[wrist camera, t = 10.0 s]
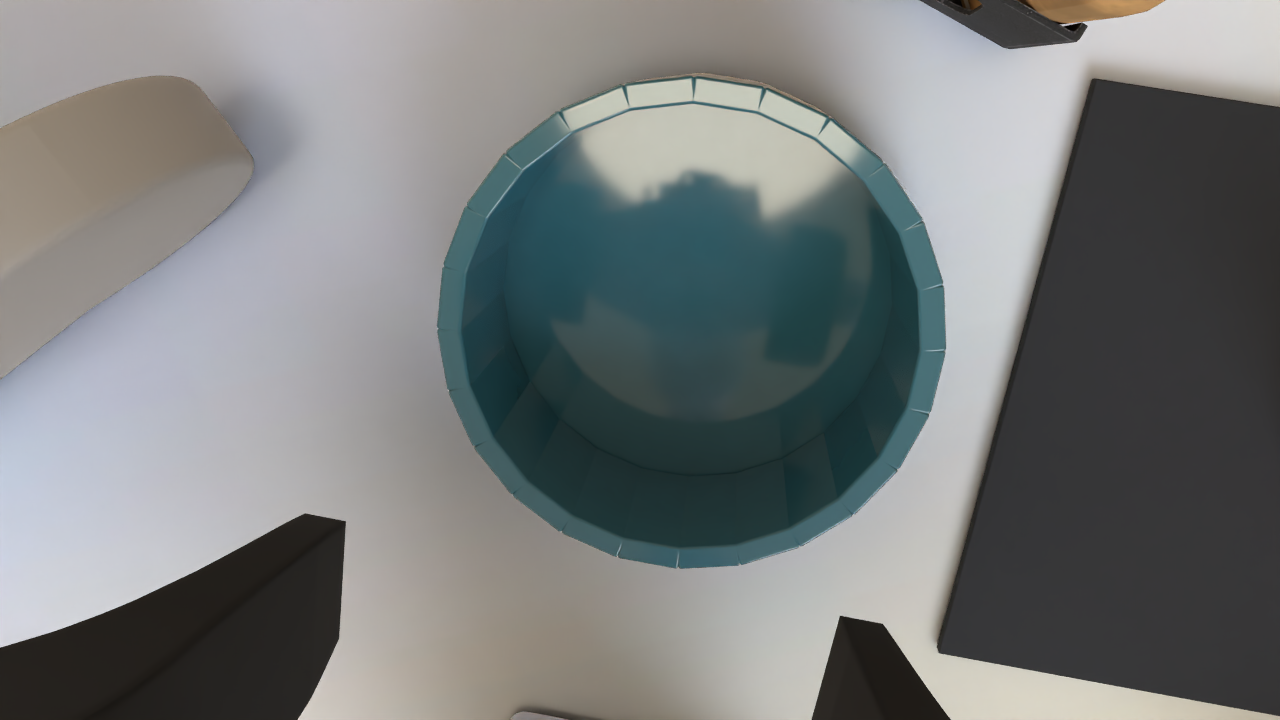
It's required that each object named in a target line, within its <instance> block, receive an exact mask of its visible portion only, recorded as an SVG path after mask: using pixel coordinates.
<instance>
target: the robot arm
mask: <svg viewBox="0 0 1280 720" xmlns="http://www.w3.org/2000/svg"><path fill="white" fill-rule="evenodd" d="M345 527H346V521H341V520H336V519H331V518H326V517H320V516H315V515H310V514H303V515H301V516H299V517H297V518H295V519H293V520H291V521H289V522H287V523H285V524H283V525H281V526H279V527H278V528H276V529H274V530H272V531H270V532H268V533H267V534H265V535H263V536H261V537H259V538H257V539H256V540H254V541H252V542H250V543H248V544H247V545H245V546H243V547H241V548H239V549H237V550H235V551H233V552H232V553H230V554H228V555H226V556H224V557H222V558H220V559H218V560H217V561H215V562H213V563H211V564H209V565H207V566H205V567H203V568H201V569H200V570H198V571H196V572H194V573H191V574H189V575H187V576H185V577H183V578H181V579H179V580H177V581H175V582H172V583H170V584H168V585H166V586H164V587H162V588H160V589H158V590H156V591H153V592H151V593H149V594H147V595H145V596H143V597H141V598H139V599H137V600H134V601H132V602H130V603H127V604H125V605H123V606H120V607H118V608H115V609H113V610H110V611H108V612H106V613H103V614H101V615H98V616H95V617H93V618H90V619H87V620H84V621H82V622H79V623H76V624H74V625H71V626H68V627H66V628H63V629H60V630H57V631H54V632H51V633H48V634H45V635H41V636H38V637H35V638H31V639H28V640H25V641H21V642H18V643H15V644H11V645H8V646H5V647H1V648H0V720H298V718H299V716H300V715H301V713H302V712H303V710H304V708H305V707H306V705H307V704H308V702H309V700H310V699H311V697H312V695H313V693H314V691H315V689H316V687H317V685H318V683H319V681H320V679H321V677H322V674H323V672H324V670H325V668H326V666H327V664H328V662H329V659H330V657H331V655H332V653H333V651H334V648H335V646H336V644H337V642H338V640H339V631H340V613H341V596H342V579H343V561H344V544H345ZM510 720H569V719H563V718H558V717H553V716H548V715H543V714H537V713H532V712H519V713H517V714H515V715H514V716H513V717H511V719H510ZM812 720H951V719H950V718H949V717H948V716H947V714H946V713H945V712H944V710H943V709H942V708H941V706H940V705H939V703H938V702H937V701H936V699H935V698H934V697H933V695H932V694H931V693H930V691H929V690H928V688H927V687H926V686H925V684H924V683H923V681H922V680H921V678H920V677H919V676H918V674H917V673H916V671H915V670H914V668H913V667H912V665H911V664H910V663H909V661H908V660H907V658H906V657H905V655H904V654H903V652H902V651H901V649H900V648H899V646H898V645H897V644H896V642H895V641H894V639H893V638H892V636H891V635H890V633H889V632H888V630H887V629H886V628H885V626H884V625H883V624H880V623H875V622H870V621H864V620H859V619H854V618H849V617H843V616H840V618H839V622H838V625H837V629H836V633H835V636H834V640H833V644H832V647H831V651H830V655H829V658H828V662H827V666H826V669H825V673H824V677H823V680H822V684H821V688H820V691H819V695H818V699H817V702H816V706H815V709H814V713H813V717H812Z"/></svg>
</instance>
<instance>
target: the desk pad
mask: <svg viewBox="0 0 1280 720" xmlns="http://www.w3.org/2000/svg"><path fill="white" fill-rule="evenodd" d="M937 648H938V652H939V653H941V654H947V655H952V656H957V657H963V658H968V659H974V660H979V661H984V662H990V663H995V664H1001V665H1006V666H1011V667H1017V668H1022V669H1028V670H1033V671H1039V672H1044V673H1049V674H1055V675H1060V676H1066V677H1071V678H1076V679H1082V680H1087V681H1093V682H1098V683H1103V684H1109V685H1114V686H1120V687H1125V688H1130V689H1136V690H1141V691H1147V692H1152V693H1158V694H1163V695H1168V696H1174V697H1179V698H1185V699H1190V700H1195V701H1201V702H1206V703H1212V704H1217V705H1222V706H1228V707H1233V708H1239V709H1244V710H1250V711H1255V712H1260V713H1266V714H1271V715H1277V716H1280V107H1274V106H1268V105H1262V104H1255V103H1249V102H1242V101H1236V100H1229V99H1223V98H1216V97H1210V96H1204V95H1197V94H1191V93H1184V92H1178V91H1171V90H1165V89H1158V88H1152V87H1146V86H1139V85H1133V84H1126V83H1120V82H1113V81H1107V80H1100V79H1092V82H1091V85H1090V89H1089V93H1088V96H1087V100H1086V104H1085V107H1084V111H1083V115H1082V118H1081V122H1080V125H1079V129H1078V133H1077V136H1076V140H1075V144H1074V147H1073V151H1072V155H1071V158H1070V162H1069V166H1068V169H1067V173H1066V177H1065V180H1064V184H1063V188H1062V191H1061V195H1060V199H1059V202H1058V206H1057V210H1056V213H1055V217H1054V221H1053V224H1052V228H1051V232H1050V235H1049V239H1048V242H1047V246H1046V250H1045V253H1044V257H1043V261H1042V264H1041V268H1040V272H1039V275H1038V279H1037V283H1036V286H1035V290H1034V294H1033V297H1032V301H1031V305H1030V308H1029V312H1028V316H1027V319H1026V323H1025V327H1024V330H1023V334H1022V338H1021V341H1020V345H1019V349H1018V352H1017V356H1016V359H1015V363H1014V367H1013V370H1012V374H1011V378H1010V381H1009V385H1008V389H1007V392H1006V396H1005V400H1004V403H1003V407H1002V411H1001V414H1000V418H999V422H998V425H997V429H996V433H995V436H994V440H993V444H992V447H991V451H990V455H989V458H988V462H987V466H986V469H985V473H984V476H983V480H982V484H981V487H980V491H979V495H978V498H977V502H976V506H975V509H974V513H973V517H972V520H971V524H970V528H969V531H968V535H967V539H966V542H965V546H964V550H963V553H962V557H961V561H960V564H959V568H958V572H957V575H956V579H955V583H954V586H953V590H952V593H951V597H950V601H949V604H948V608H947V612H946V615H945V619H944V623H943V626H942V630H941V634H940V637H939V641H938V645H937Z"/></svg>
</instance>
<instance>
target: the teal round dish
mask: <svg viewBox="0 0 1280 720" xmlns="http://www.w3.org/2000/svg"><path fill="white" fill-rule="evenodd" d="M942 284H943V280H942V277H941V273H940V270H939V267H938V264H937V261H936V258H935V255H934V252H933V248H932V245H931V242H930V239H929V236H928V233H927V230H926V227H925V223H924V222H923V221H922V217H921V216H920V214H919V213H918V211H917V210H916V208H915V207H914V205H913V204H912V202H911V201H910V199H909V198H908V196H907V195H906V193H905V192H904V190H903V189H902V187H901V186H900V184H899V183H898V181H897V180H896V178H895V177H894V175H893V174H892V172H891V171H890V169H889V168H888V166H887V165H886V164H885V163H884V162H883V161H882V159H881V158H879V157H878V156H877V155H876V154H875V153H873V152H872V151H871V150H870V149H869V148H868V147H866V146H865V145H864V144H863V143H862V142H861V141H859V140H858V139H857V138H856V137H855V136H853V135H852V134H851V133H850V132H849V131H848V130H846V129H845V128H844V127H843V126H842V125H841V124H839V123H838V122H837V121H836V120H835V119H833V118H832V117H831V116H829V115H828V114H826V113H825V112H823V111H822V110H820V109H819V108H817V107H815V106H814V105H812V104H810V103H807V102H805V101H803V100H801V99H799V98H797V97H794V96H792V95H790V94H788V93H786V92H783V91H781V90H779V89H777V88H775V87H772V86H770V85H768V84H766V83H761V82H759V81H755V80H748V79H742V78H736V77H731V76H723V75H717V74H710V73H691V74H683V75H673V76H665V77H657V78H648V79H642V80H638V81H633V82H628V83H625V84H620V85H618V86H615V87H613V88H611V89H608V90H606V91H603V92H601V93H598V94H596V95H593V96H591V97H588V98H586V99H584V100H581V101H579V102H576V103H574V104H571V105H569V106H566V107H564V108H562V109H561V110H560V111H557V112H555V113H554V114H553V115H551V116H550V117H549V118H547V119H546V120H545V121H544V122H542V123H541V124H540V125H538V126H537V127H536V128H535V129H533V130H532V131H531V132H529V133H528V134H527V135H526V136H524V137H523V138H522V139H520V140H519V141H518V142H517V143H515V144H514V145H513V146H511V147H510V148H509V149H508V150H507V151H506V153H504V154H503V155H502V156H501V158H500V159H499V160H498V162H497V163H496V164H495V166H494V167H493V168H492V170H491V171H490V172H489V174H488V175H487V177H486V178H485V179H484V181H483V182H482V183H481V185H480V186H479V187H478V189H477V190H476V191H475V193H474V194H473V196H472V197H471V198H470V200H469V201H468V202H467V206H466V207H465V208H464V210H463V213H462V215H461V218H460V221H459V223H458V226H457V229H456V231H455V234H454V237H453V239H452V242H451V244H450V247H449V250H448V252H447V255H446V258H445V260H444V267H443V268H442V277H441V288H440V299H439V309H438V320H437V328H438V331H437V333H438V339H439V345H440V351H441V357H442V362H443V368H444V374H445V380H446V385H447V389H448V390H449V395H450V397H451V399H452V402H453V404H454V406H455V408H456V410H457V413H458V415H459V417H460V419H461V421H462V424H463V426H464V428H465V430H466V432H467V435H468V437H469V439H470V441H471V443H472V445H473V446H475V447H474V448H475V450H476V451H477V452H478V454H479V455H480V456H481V457H482V459H483V460H484V461H485V462H486V464H487V465H488V466H489V467H490V469H491V470H492V471H493V472H494V474H495V475H496V476H497V477H498V479H499V480H500V481H501V482H502V484H503V485H504V486H505V487H506V489H507V490H508V491H509V492H510V493H511V494H513V496H514V497H515V498H516V499H517V500H519V501H520V502H521V503H523V504H524V505H525V506H526V507H528V508H529V509H530V510H532V511H533V512H534V513H536V514H537V515H538V516H540V517H541V518H542V519H543V520H545V521H546V522H547V523H549V524H550V525H551V526H553V527H554V528H555V529H557V530H558V531H560V532H561V531H562V533H563V534H565V535H567V536H569V537H572V538H574V539H576V540H578V541H581V542H583V543H585V544H588V545H590V546H592V547H594V548H597V549H599V550H601V551H603V552H606V553H608V554H610V555H612V556H615V557H617V556H618V557H619V558H622V559H628V560H633V561H638V562H644V563H649V564H655V565H660V566H666V567H671V568H678V567H679V568H681V569H684V568H702V567H720V566H738V565H739V564H741V565H743V564H747V563H750V562H753V561H756V560H760V559H763V558H766V557H770V556H773V555H776V554H780V553H783V552H786V551H790V550H793V549H796V548H798V547H799V545H800V546H803V545H805V544H806V543H808V542H810V541H811V540H813V539H815V538H816V537H818V536H820V535H821V534H823V533H825V532H826V531H828V530H830V529H832V528H833V527H835V526H837V525H838V524H840V523H842V522H843V521H845V520H847V519H848V518H850V517H851V516H852V515H853V514H856V513H857V512H858V511H859V510H860V509H861V508H862V507H863V506H864V505H865V504H866V503H867V502H868V501H869V500H870V499H871V498H872V496H873V495H874V494H875V493H876V492H877V491H878V490H879V489H880V488H881V487H882V486H883V485H884V484H885V483H886V482H887V481H888V480H889V479H890V478H891V477H892V476H893V475H894V474H895V473H896V472H897V469H899V468H900V467H901V465H902V463H903V461H904V460H905V458H906V456H907V454H908V453H909V451H910V449H911V447H912V445H913V444H914V442H915V440H916V438H917V437H918V435H919V433H920V431H921V430H922V428H923V426H924V424H925V423H926V421H927V419H928V417H929V414H928V413H930V412H931V409H932V405H933V401H934V397H935V393H936V389H937V385H938V381H939V377H940V373H941V369H942V365H943V361H944V357H945V349H946V330H945V297H944V286H943V285H942Z"/></svg>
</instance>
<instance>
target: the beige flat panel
mask: <svg viewBox="0 0 1280 720" xmlns="http://www.w3.org/2000/svg"><path fill="white" fill-rule="evenodd" d="M253 170H254V161H253V157H252V156H251V154H250V153H249V151H248V150H247V148H246V147H245V145H244V144H243V143H242V141H241V140H240V139H239V137H238V136H237V135H236V133H235V132H234V131H233V129H232V128H231V127H230V126H229V124H228V123H227V122H226V120H225V119H224V118H223V116H222V115H221V114H220V112H219V111H218V110H217V109H216V107H215V106H214V105H213V103H212V102H211V101H210V100H209V98H208V97H207V96H206V94H205V93H204V92H203V91H202V90H201V88H200V87H198V86H197V85H196V84H194V83H193V82H191V81H189V80H186V79H184V78H180V77H174V76H149V77H141V78H135V79H129V80H125V81H120V82H116V83H112V84H109V85H105V86H102V87H98V88H95V89H92V90H89V91H86V92H83V93H80V94H77V95H75V96H72V97H69V98H67V99H64V100H61V101H59V102H57V103H54V104H52V105H49V106H47V107H45V108H42V109H40V110H38V111H35V112H33V113H31V114H29V115H27V116H24V117H22V118H20V119H18V120H16V121H14V122H12V123H10V124H8V125H6V126H4V127H2V128H0V380H1V379H2V378H3V377H4V376H6V375H7V374H8V373H9V372H11V371H12V370H13V369H15V368H16V367H17V366H18V365H20V364H21V363H22V362H23V361H25V360H26V359H27V358H28V357H30V356H31V355H32V354H34V353H35V352H36V351H37V350H39V349H40V348H41V347H42V346H44V345H45V344H46V343H48V342H49V341H50V340H51V339H53V338H54V337H55V336H56V335H58V334H59V333H60V332H62V331H63V330H64V329H65V328H67V327H68V326H69V325H70V324H72V323H73V322H74V321H76V320H77V319H78V318H80V317H81V316H82V315H83V314H85V313H86V312H87V311H89V310H90V309H92V308H93V307H95V306H96V305H98V304H99V303H101V302H102V301H104V300H106V299H107V298H109V297H110V296H112V295H113V294H115V293H116V292H118V291H119V290H121V289H122V288H124V287H125V286H127V285H128V284H130V283H131V282H133V281H134V280H136V279H137V278H139V277H140V276H142V275H143V274H145V273H146V272H148V271H149V270H150V269H152V268H153V267H155V266H156V265H157V264H159V263H160V262H162V261H163V260H164V259H166V258H167V257H169V256H170V255H171V254H173V253H174V252H175V251H177V250H178V249H179V248H181V247H182V246H183V245H184V244H186V243H187V242H188V241H190V240H191V239H192V238H193V237H195V236H196V235H197V234H198V233H199V232H201V231H202V230H203V229H204V228H205V227H207V226H208V225H209V224H210V223H211V222H212V221H213V220H215V219H216V218H217V217H218V216H219V215H220V214H221V213H222V212H223V211H224V210H225V209H226V208H227V207H228V206H229V205H230V204H231V203H232V202H233V201H234V200H235V199H236V198H237V197H238V196H239V195H240V193H241V192H242V191H243V189H244V188H245V187H246V185H247V184H248V182H249V180H250V178H251V176H252V174H253Z"/></svg>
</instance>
